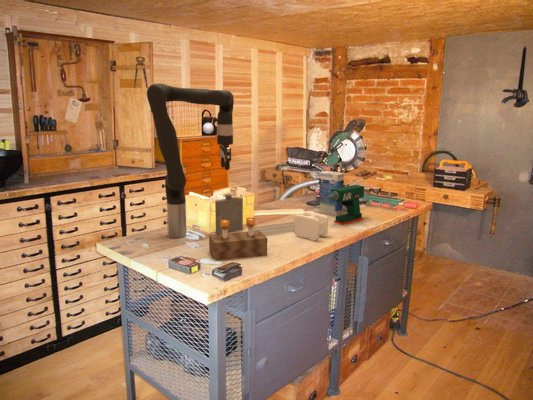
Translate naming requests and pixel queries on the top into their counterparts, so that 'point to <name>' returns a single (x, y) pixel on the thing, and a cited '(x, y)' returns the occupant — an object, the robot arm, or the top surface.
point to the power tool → (348, 202)
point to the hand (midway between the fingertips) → (225, 168)
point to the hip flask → (229, 213)
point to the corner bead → (275, 228)
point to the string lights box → (326, 184)
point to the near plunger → (224, 228)
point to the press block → (237, 245)
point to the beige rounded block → (311, 225)
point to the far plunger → (250, 226)
